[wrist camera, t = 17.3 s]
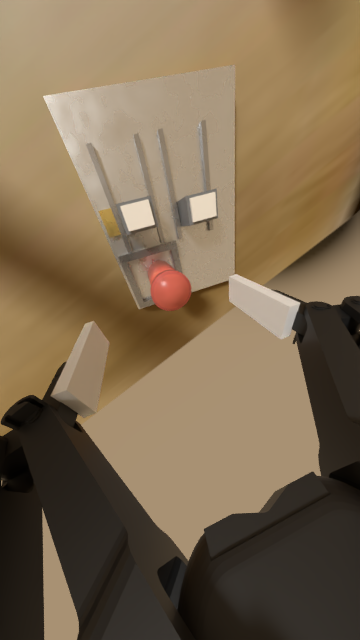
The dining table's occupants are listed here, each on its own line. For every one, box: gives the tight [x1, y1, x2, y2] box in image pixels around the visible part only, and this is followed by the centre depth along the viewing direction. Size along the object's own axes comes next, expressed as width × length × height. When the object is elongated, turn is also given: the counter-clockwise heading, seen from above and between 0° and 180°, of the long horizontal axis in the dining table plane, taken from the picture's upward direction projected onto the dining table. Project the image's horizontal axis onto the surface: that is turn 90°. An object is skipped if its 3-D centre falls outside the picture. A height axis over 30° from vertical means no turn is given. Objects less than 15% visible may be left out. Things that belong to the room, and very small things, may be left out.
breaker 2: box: [177, 188, 218, 226], centre depth 19 cm, size 3×4×4 cm
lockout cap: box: [148, 260, 191, 311], centre depth 21 cm, size 5×5×9 cm
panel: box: [43, 65, 235, 309], centre depth 22 cm, size 24×20×3 cm
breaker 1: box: [115, 196, 159, 235], centre depth 18 cm, size 3×4×4 cm
